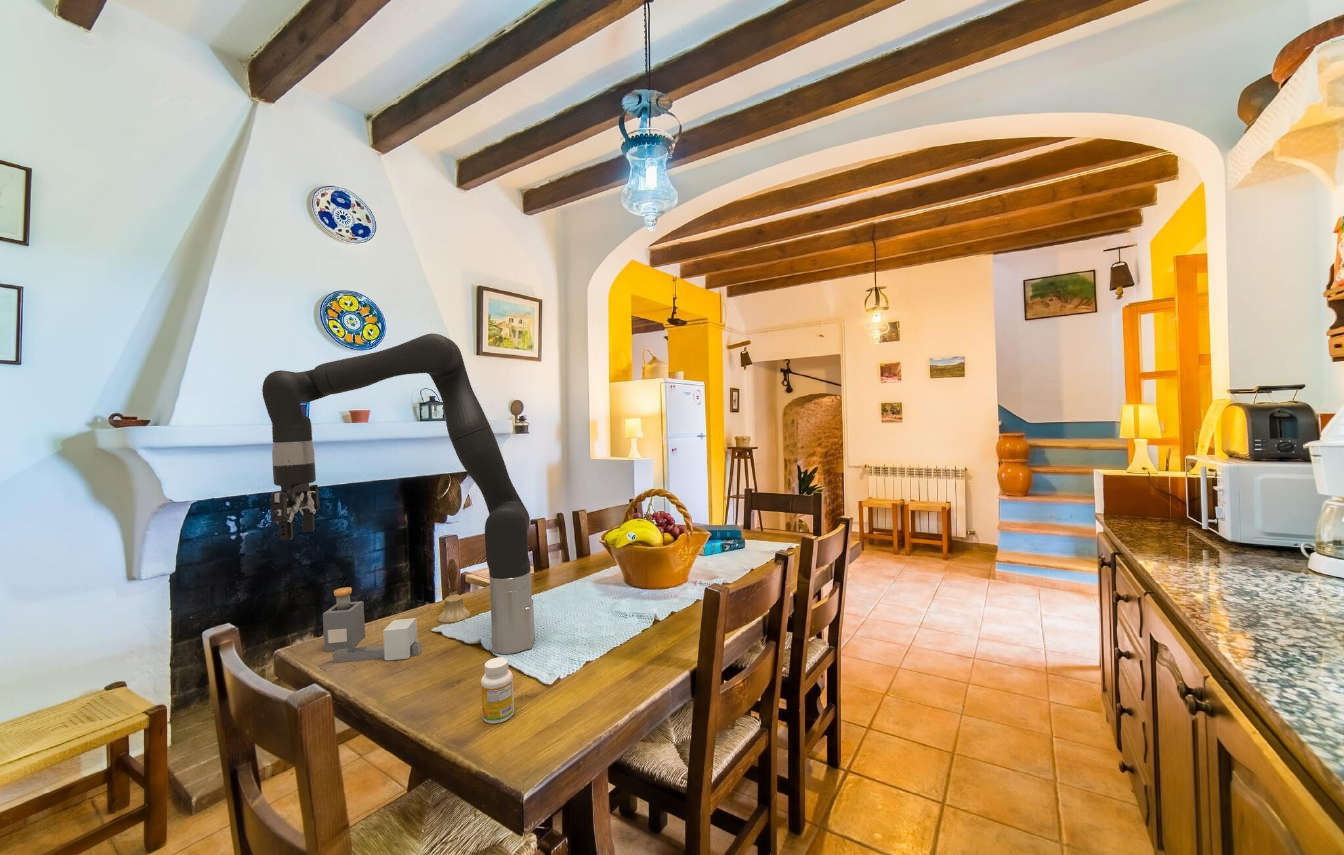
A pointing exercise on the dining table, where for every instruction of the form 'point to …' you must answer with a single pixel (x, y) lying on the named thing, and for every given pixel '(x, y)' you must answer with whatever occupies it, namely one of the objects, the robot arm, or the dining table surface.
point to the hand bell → (453, 599)
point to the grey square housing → (343, 627)
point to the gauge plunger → (343, 598)
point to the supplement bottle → (497, 691)
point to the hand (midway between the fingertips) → (298, 535)
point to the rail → (368, 653)
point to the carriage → (399, 638)
